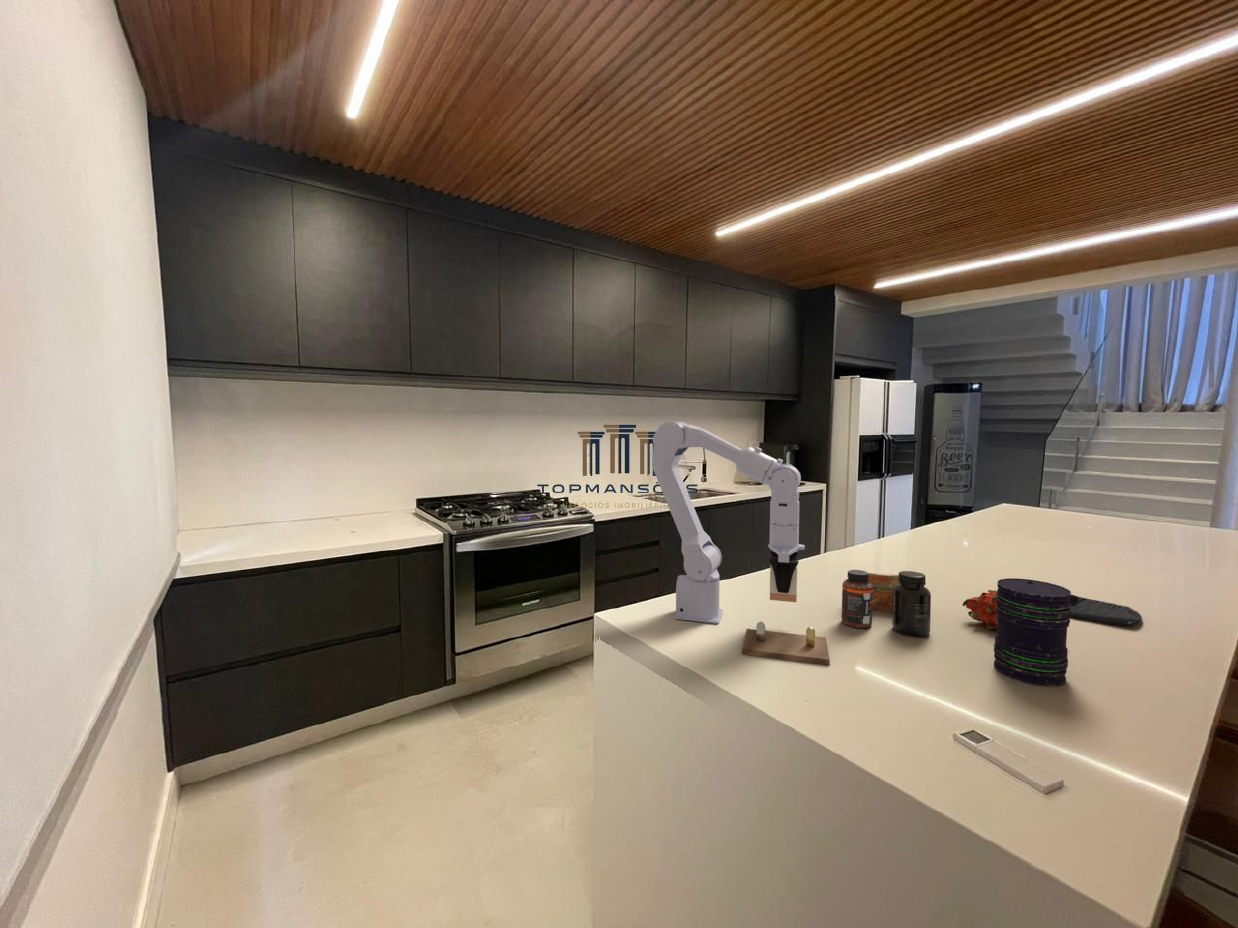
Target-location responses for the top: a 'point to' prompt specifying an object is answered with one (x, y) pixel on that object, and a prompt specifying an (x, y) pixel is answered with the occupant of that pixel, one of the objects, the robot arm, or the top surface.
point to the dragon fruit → (984, 608)
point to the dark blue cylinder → (1032, 631)
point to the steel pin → (760, 632)
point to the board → (786, 647)
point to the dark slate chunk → (1102, 611)
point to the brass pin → (810, 637)
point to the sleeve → (783, 596)
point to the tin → (883, 591)
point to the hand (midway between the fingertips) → (783, 587)
